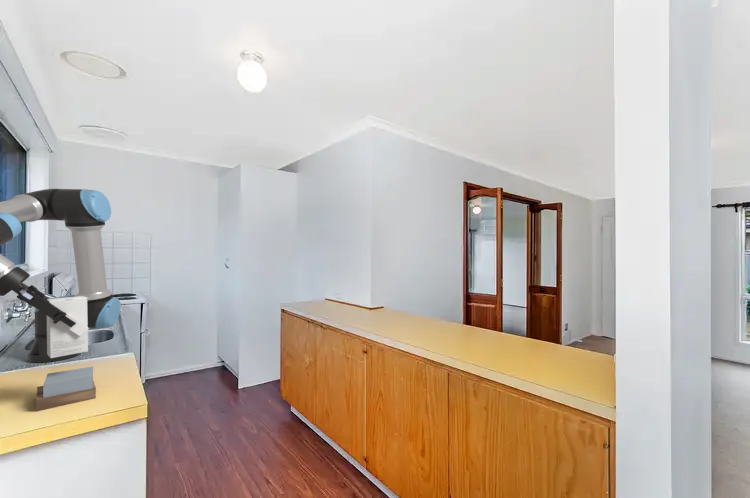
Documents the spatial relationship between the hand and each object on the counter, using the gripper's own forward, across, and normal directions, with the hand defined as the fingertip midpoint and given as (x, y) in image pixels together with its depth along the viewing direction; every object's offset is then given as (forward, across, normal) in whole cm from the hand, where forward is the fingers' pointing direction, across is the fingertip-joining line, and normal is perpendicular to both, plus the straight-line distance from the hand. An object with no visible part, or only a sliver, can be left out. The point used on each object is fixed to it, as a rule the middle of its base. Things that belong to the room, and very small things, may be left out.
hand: (83, 329), depth 101 cm
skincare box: (+2, 0, -7) cm, 7 cm away
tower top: (+9, 0, -13) cm, 16 cm away
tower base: (+11, 0, -16) cm, 19 cm away
